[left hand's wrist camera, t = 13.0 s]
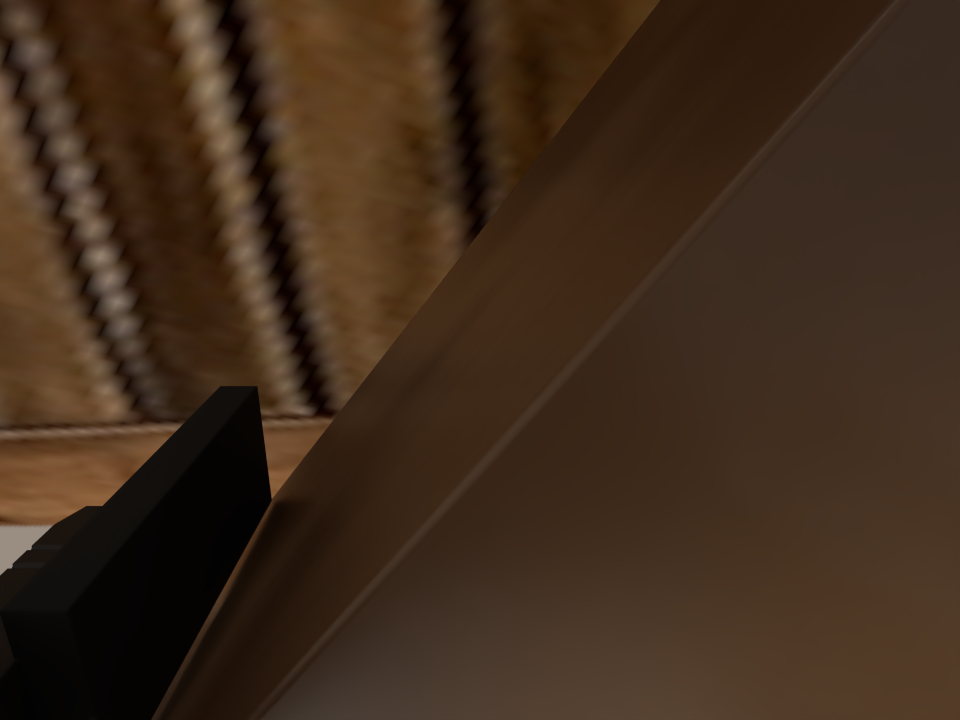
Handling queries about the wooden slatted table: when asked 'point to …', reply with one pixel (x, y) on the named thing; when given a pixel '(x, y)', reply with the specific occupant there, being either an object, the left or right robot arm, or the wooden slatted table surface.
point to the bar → (654, 414)
